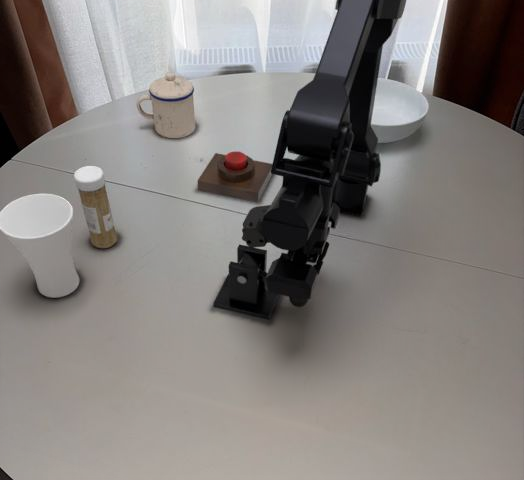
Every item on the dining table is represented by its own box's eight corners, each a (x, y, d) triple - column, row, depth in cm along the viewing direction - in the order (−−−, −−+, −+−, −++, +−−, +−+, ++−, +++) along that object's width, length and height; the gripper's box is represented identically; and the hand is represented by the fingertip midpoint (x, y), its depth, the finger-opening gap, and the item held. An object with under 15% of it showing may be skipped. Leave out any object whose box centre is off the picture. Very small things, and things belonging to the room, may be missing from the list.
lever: (304, 301, 90) (314, 290, 88) (299, 314, 89) (309, 303, 86) (239, 261, 88) (247, 249, 86) (232, 274, 86) (240, 262, 84)
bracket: (281, 291, 93) (283, 249, 86) (268, 321, 89) (270, 279, 82) (228, 279, 95) (226, 236, 88) (213, 308, 90) (211, 266, 84)
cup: (20, 271, 95) (-8, 202, 84) (84, 255, 98) (65, 187, 87) (30, 314, 89) (2, 245, 78) (98, 296, 92) (79, 227, 81)
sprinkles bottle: (122, 243, 100) (107, 175, 90) (97, 252, 98) (80, 184, 88) (111, 229, 102) (96, 161, 92) (86, 237, 101) (68, 170, 90)
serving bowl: (429, 157, 119) (437, 126, 114) (327, 155, 119) (331, 123, 114) (413, 107, 133) (420, 77, 128) (322, 104, 133) (325, 74, 127)
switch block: (273, 173, 115) (273, 155, 111) (258, 202, 108) (258, 184, 105) (215, 162, 117) (215, 144, 113) (198, 190, 110) (196, 172, 107)
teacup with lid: (196, 117, 128) (192, 63, 119) (196, 139, 122) (192, 84, 113) (141, 118, 127) (133, 64, 118) (139, 140, 121) (130, 85, 112)
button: (249, 161, 111) (249, 153, 109) (242, 173, 108) (242, 164, 107) (229, 158, 111) (229, 149, 110) (222, 169, 109) (222, 160, 107)
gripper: (269, 153, 82) (266, 240, 94) (225, 233, 70) (228, 320, 82) (346, 167, 80) (333, 254, 92) (315, 252, 68) (304, 338, 80)
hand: (300, 289), depth 87 cm, fingers closed
